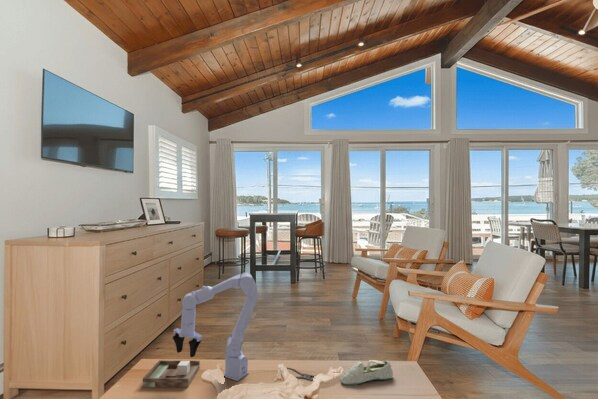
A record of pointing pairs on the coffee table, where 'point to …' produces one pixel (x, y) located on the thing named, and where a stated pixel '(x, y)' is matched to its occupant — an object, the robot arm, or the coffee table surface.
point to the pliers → (303, 375)
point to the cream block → (183, 368)
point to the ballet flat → (367, 372)
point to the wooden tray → (169, 374)
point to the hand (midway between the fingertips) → (186, 354)
